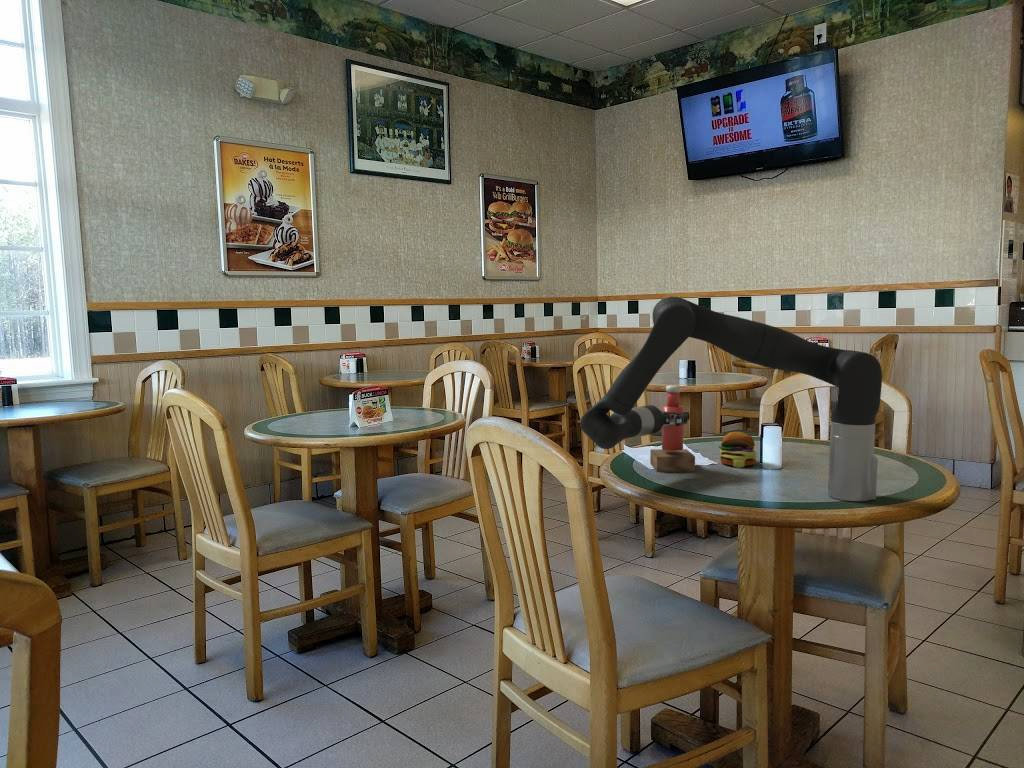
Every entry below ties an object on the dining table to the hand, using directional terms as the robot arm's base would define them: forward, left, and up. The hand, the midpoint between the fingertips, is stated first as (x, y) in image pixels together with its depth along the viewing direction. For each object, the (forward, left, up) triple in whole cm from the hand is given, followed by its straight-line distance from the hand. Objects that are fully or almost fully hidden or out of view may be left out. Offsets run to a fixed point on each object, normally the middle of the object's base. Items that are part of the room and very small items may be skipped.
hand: (678, 414), depth 205 cm
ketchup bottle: (+2, +2, -9) cm, 9 cm away
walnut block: (+2, +2, -14) cm, 14 cm away
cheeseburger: (-17, -3, -14) cm, 23 cm away
